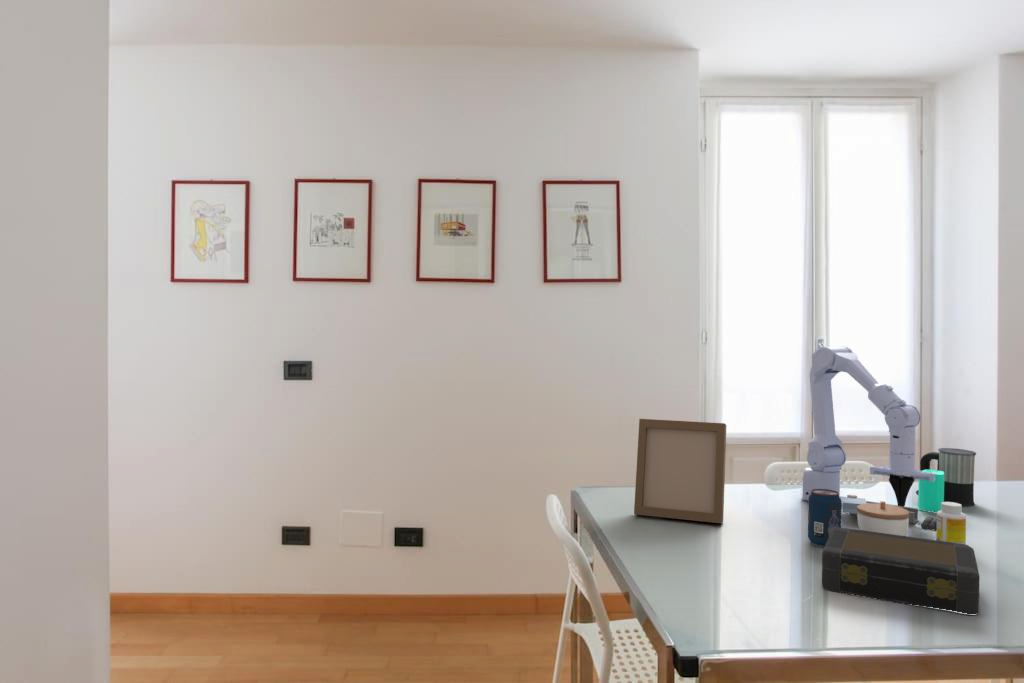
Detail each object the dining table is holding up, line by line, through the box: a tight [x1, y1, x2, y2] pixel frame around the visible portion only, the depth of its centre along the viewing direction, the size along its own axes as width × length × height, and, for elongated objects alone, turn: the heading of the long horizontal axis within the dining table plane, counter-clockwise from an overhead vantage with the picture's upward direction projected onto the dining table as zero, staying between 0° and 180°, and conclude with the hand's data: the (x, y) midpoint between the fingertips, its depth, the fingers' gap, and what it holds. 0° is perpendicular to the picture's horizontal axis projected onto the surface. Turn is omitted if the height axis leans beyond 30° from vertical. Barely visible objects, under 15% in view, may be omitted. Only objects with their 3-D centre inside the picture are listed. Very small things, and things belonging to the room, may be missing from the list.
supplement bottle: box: [935, 502, 967, 545], centre depth 158 cm, size 6×6×10 cm
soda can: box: [807, 489, 842, 548], centre depth 161 cm, size 7×7×12 cm
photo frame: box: [633, 418, 727, 524], centre depth 185 cm, size 15×22×25 cm
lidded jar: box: [856, 500, 910, 536], centre depth 163 cm, size 11×11×9 cm
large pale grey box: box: [848, 500, 919, 526], centre depth 185 cm, size 16×6×3 cm, turn 51°
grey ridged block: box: [920, 515, 937, 530], centre depth 177 cm, size 5×9×2 cm, turn 141°
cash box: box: [821, 527, 981, 614], centre depth 136 cm, size 25×20×8 cm
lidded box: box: [840, 494, 867, 514], centre depth 183 cm, size 16×6×2 cm, turn 158°
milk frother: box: [915, 447, 977, 507], centre depth 200 cm, size 14×16×15 cm
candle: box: [917, 465, 944, 512], centre depth 192 cm, size 6×6×12 cm
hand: (901, 505), depth 182 cm, fingers closed
